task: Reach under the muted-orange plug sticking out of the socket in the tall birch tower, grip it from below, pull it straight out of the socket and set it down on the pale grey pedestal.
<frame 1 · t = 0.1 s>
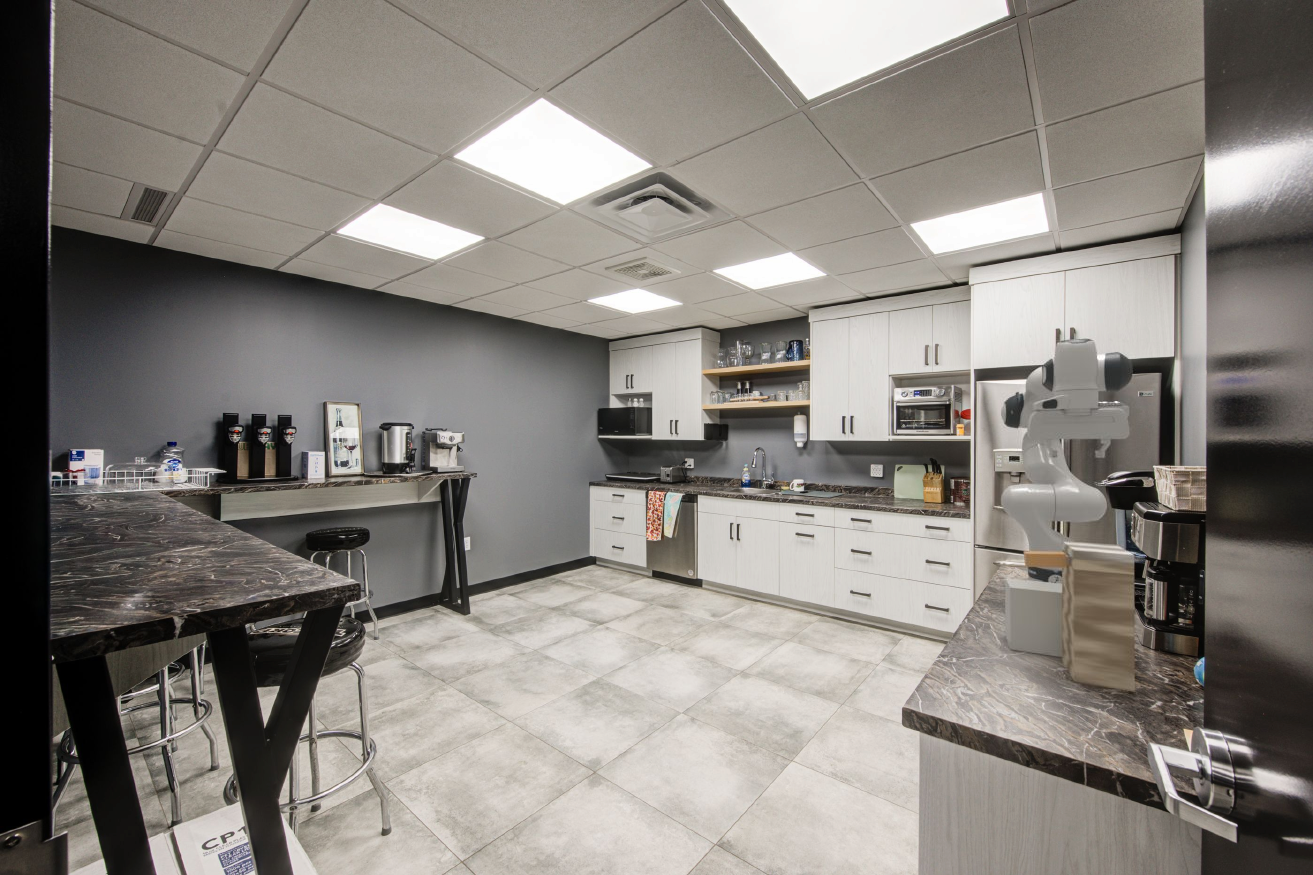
hand: (1076, 457, 134), 48 cm above the counter, tool pointing down, fingers open, 8 cm apart
plug: (1065, 563, 121), point 24 cm above the counter, touching socket tower
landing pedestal: (1040, 647, 135), on the counter
socket tower: (1096, 675, 119), on the counter
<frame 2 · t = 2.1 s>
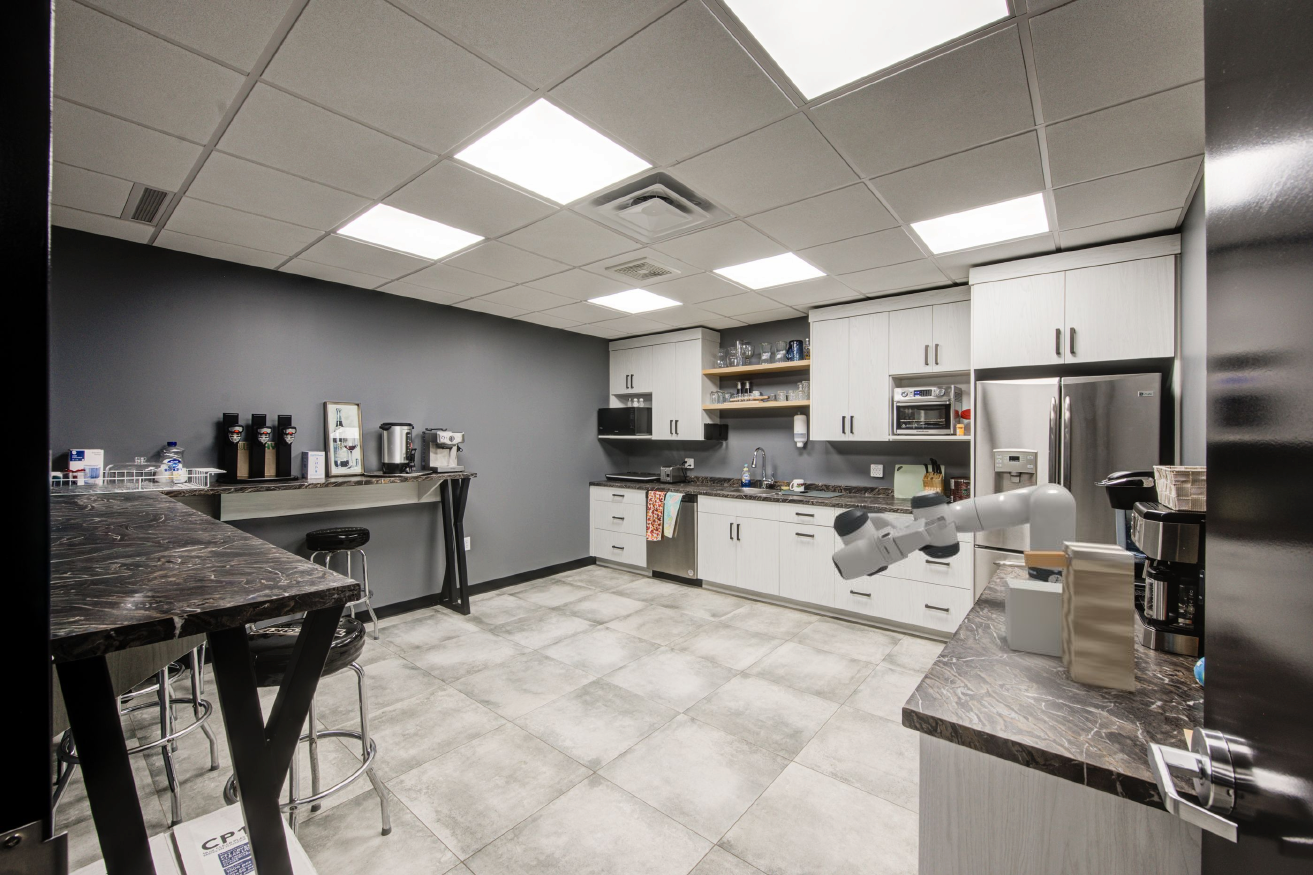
hand: (945, 520, 132), 32 cm above the counter, tool pointing upward, fingers open, 8 cm apart
nothing on the counter moved.
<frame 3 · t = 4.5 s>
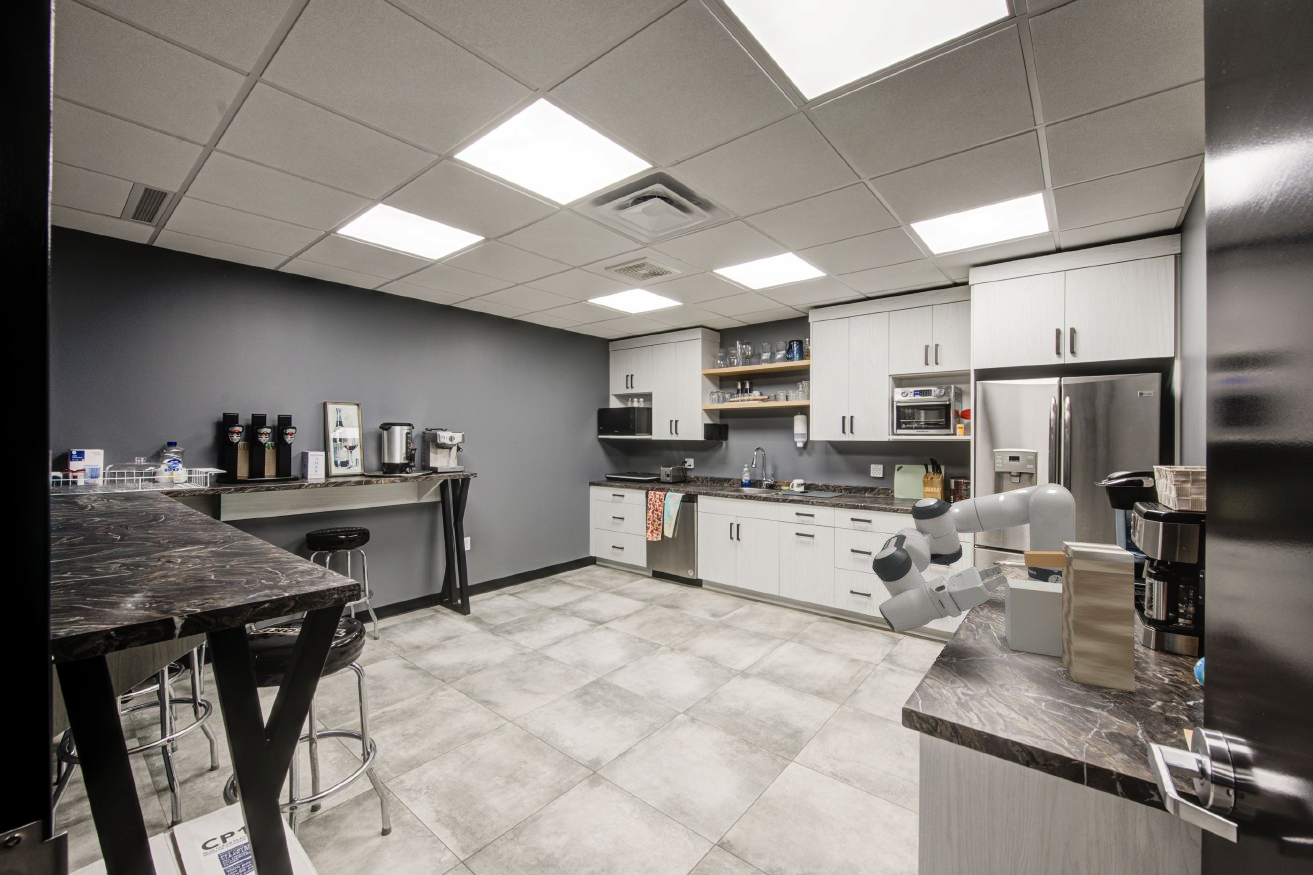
hand: (1003, 572, 126), 21 cm above the counter, tool pointing upward, fingers open, 8 cm apart
nothing on the counter moved.
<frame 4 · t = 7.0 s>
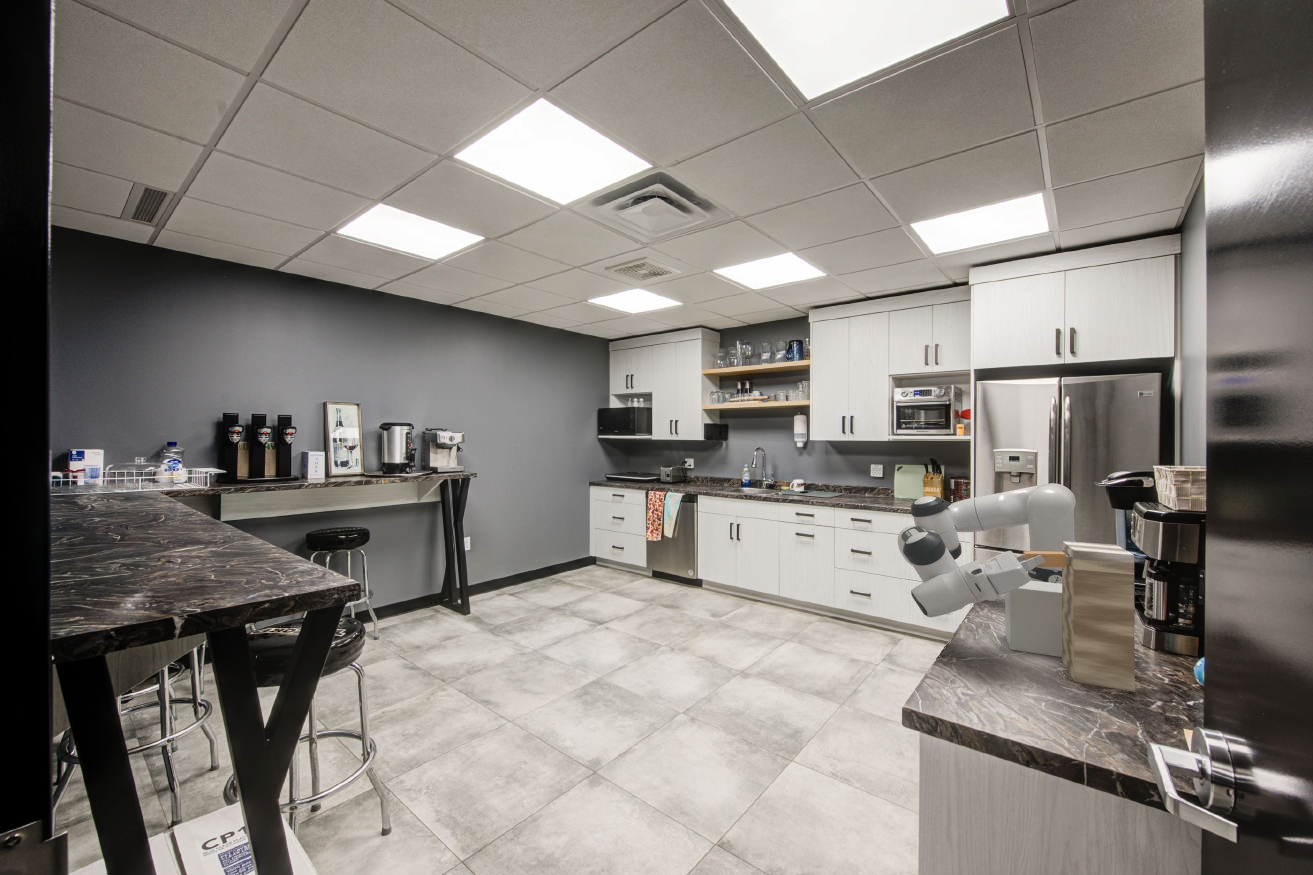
hand: (1041, 555, 123), 26 cm above the counter, tool pointing upward, fingers closed on plug, 3 cm apart
plug: (1065, 563, 121), point 24 cm above the counter, touching gripper, socket tower
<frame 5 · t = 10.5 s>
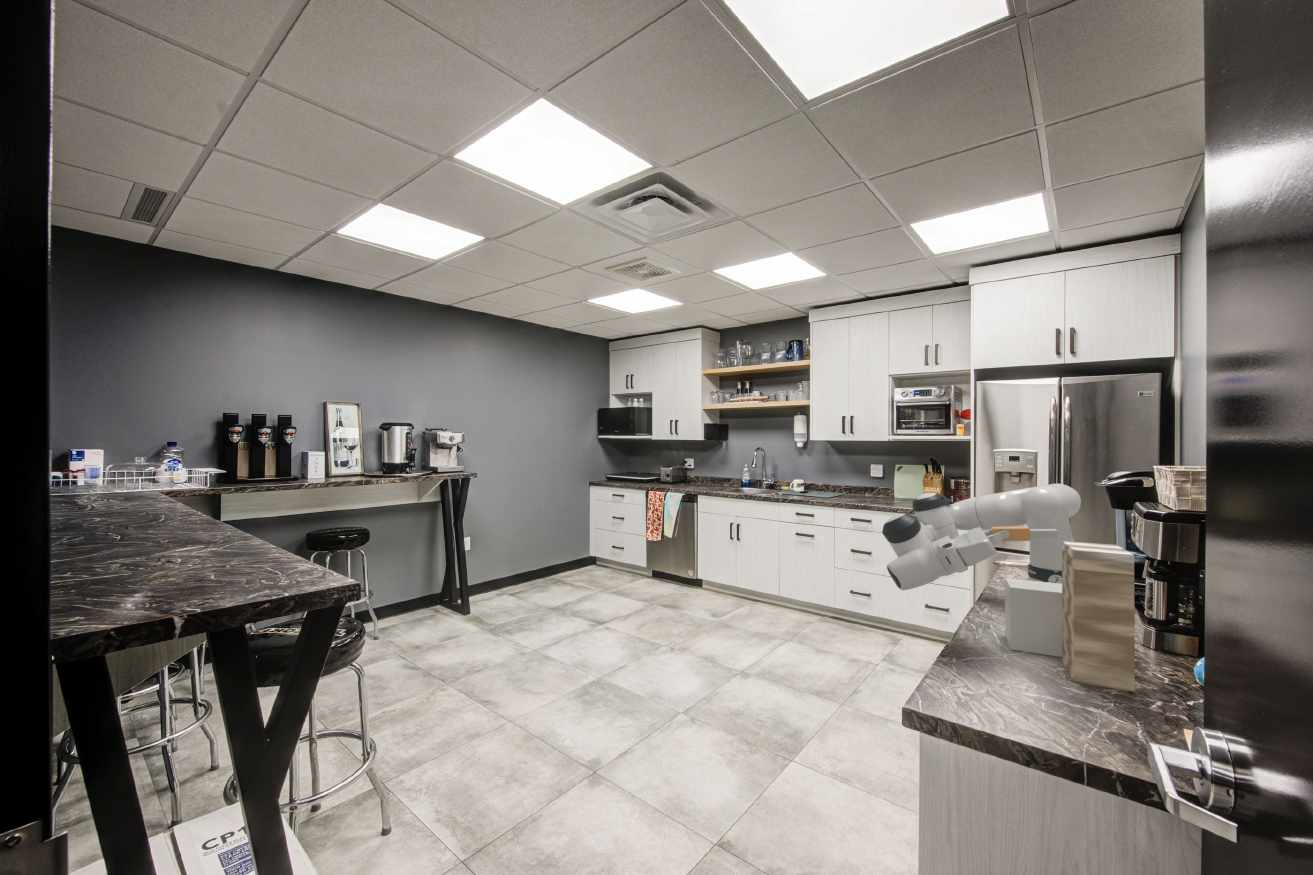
hand: (1007, 530, 132), 30 cm above the counter, tool pointing upward, fingers closed on plug, 3 cm apart
plug: (1029, 537, 130), point 29 cm above the counter, touching gripper
when the fingers open (19 cm above the counter, at t = 13.5 s): plug drops 2 cm, resting on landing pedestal.
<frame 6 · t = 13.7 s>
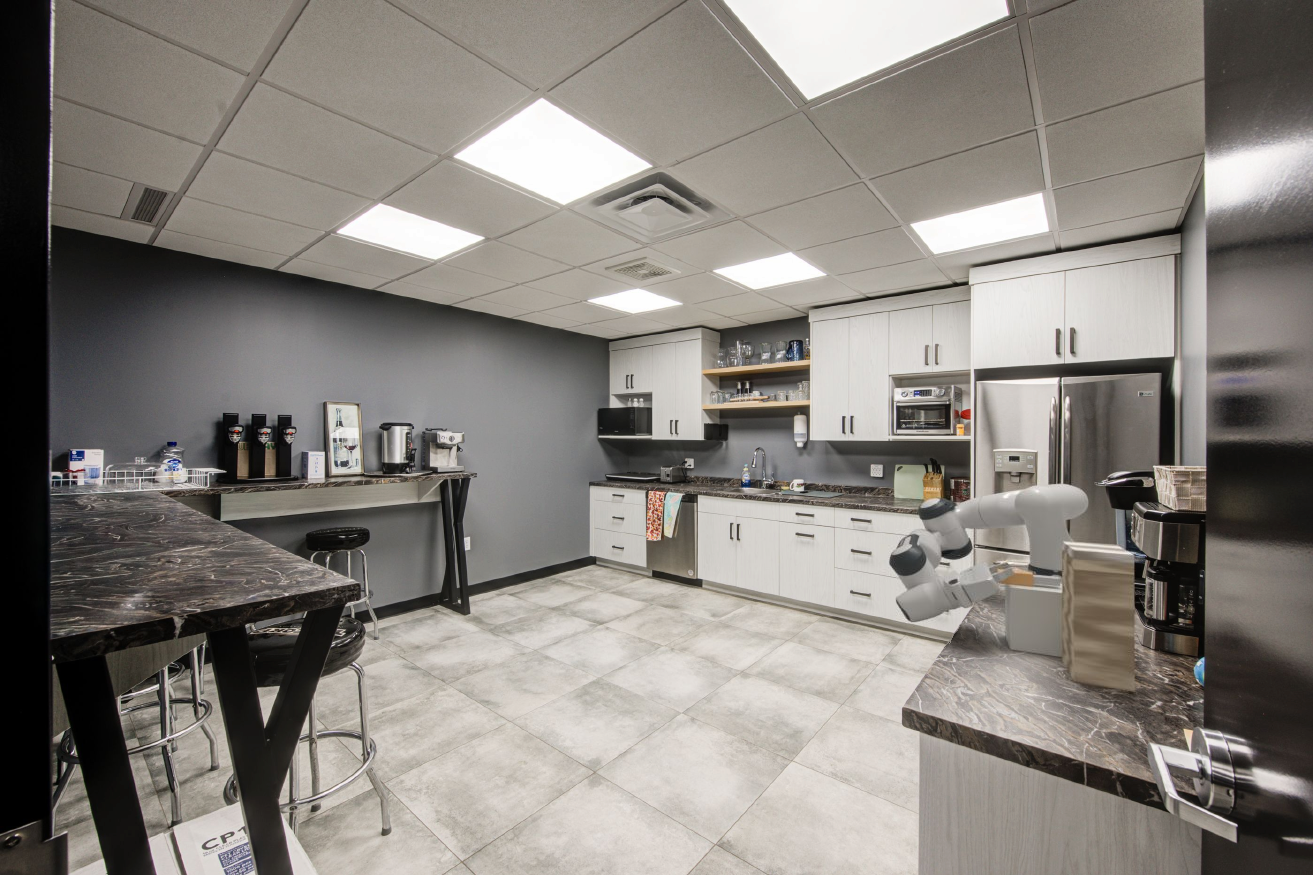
hand: (1011, 567, 138), 19 cm above the counter, tool pointing upward, fingers open, 5 cm apart
plug: (1032, 582, 136), point 16 cm above the counter, touching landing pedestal
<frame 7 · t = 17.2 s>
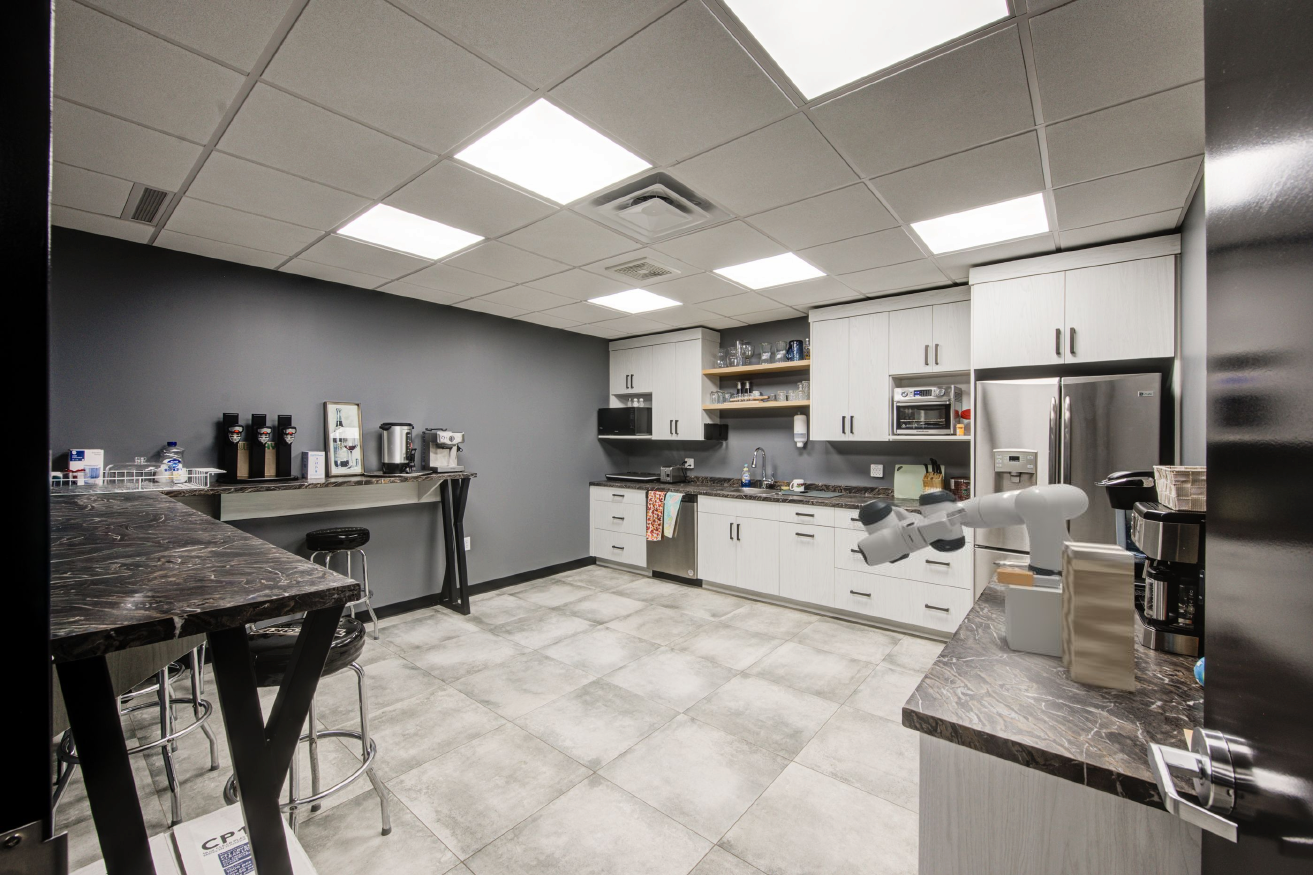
hand: (966, 512, 143), 33 cm above the counter, tool pointing upward, fingers open, 8 cm apart
nothing on the counter moved.
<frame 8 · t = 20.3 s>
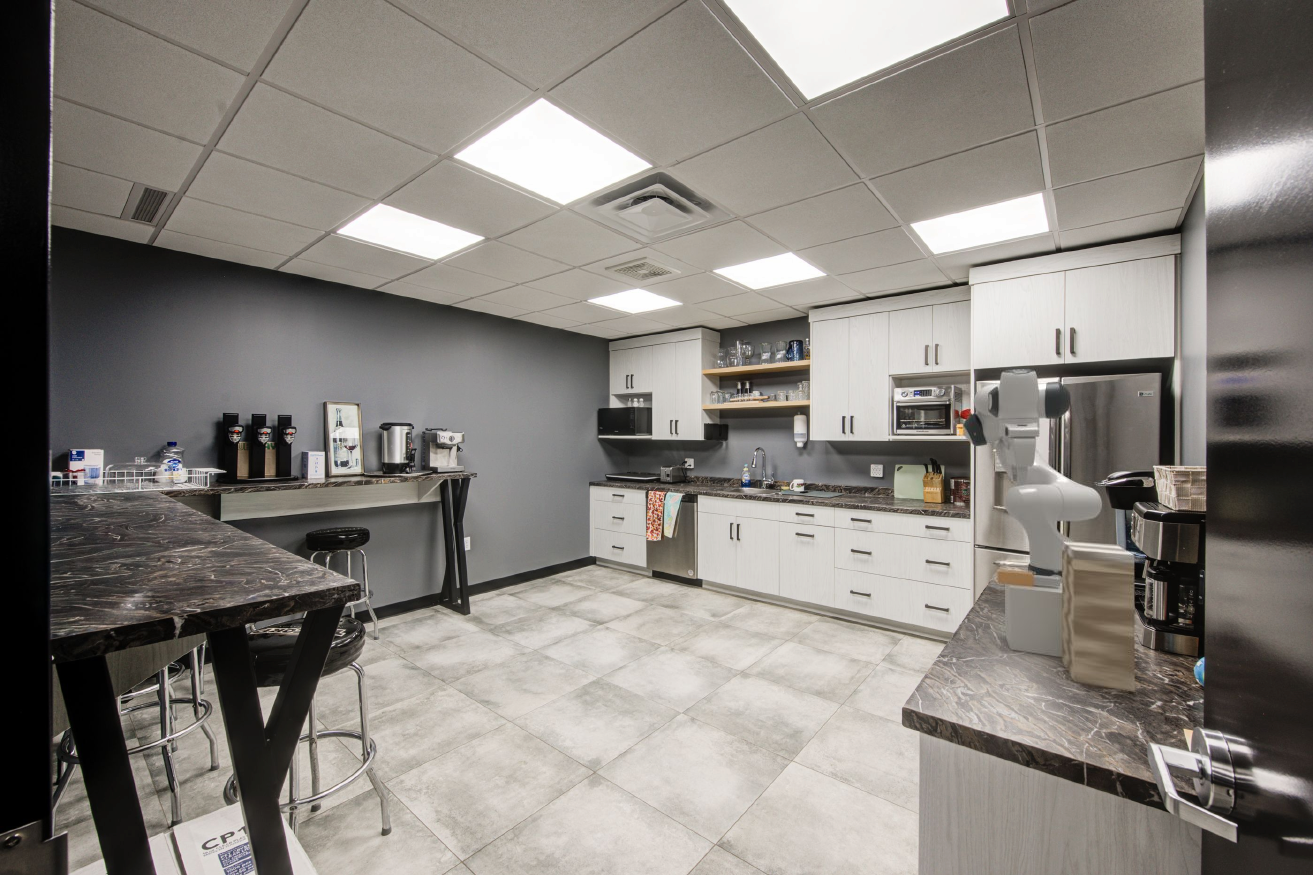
hand: (1019, 482, 140), 41 cm above the counter, tool pointing down, fingers open, 8 cm apart
nothing on the counter moved.
at the end: plug inside the target area on the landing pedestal (1.7 cm from its centre), point 16.1 cm above the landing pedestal's base; plug touching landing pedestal; the gripper is holding nothing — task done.
